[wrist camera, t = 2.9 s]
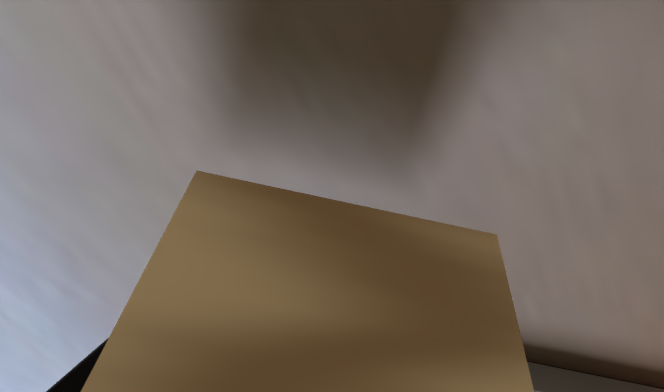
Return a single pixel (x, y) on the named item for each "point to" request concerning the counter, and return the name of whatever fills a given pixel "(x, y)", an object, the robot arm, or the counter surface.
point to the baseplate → (578, 381)
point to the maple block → (313, 302)
